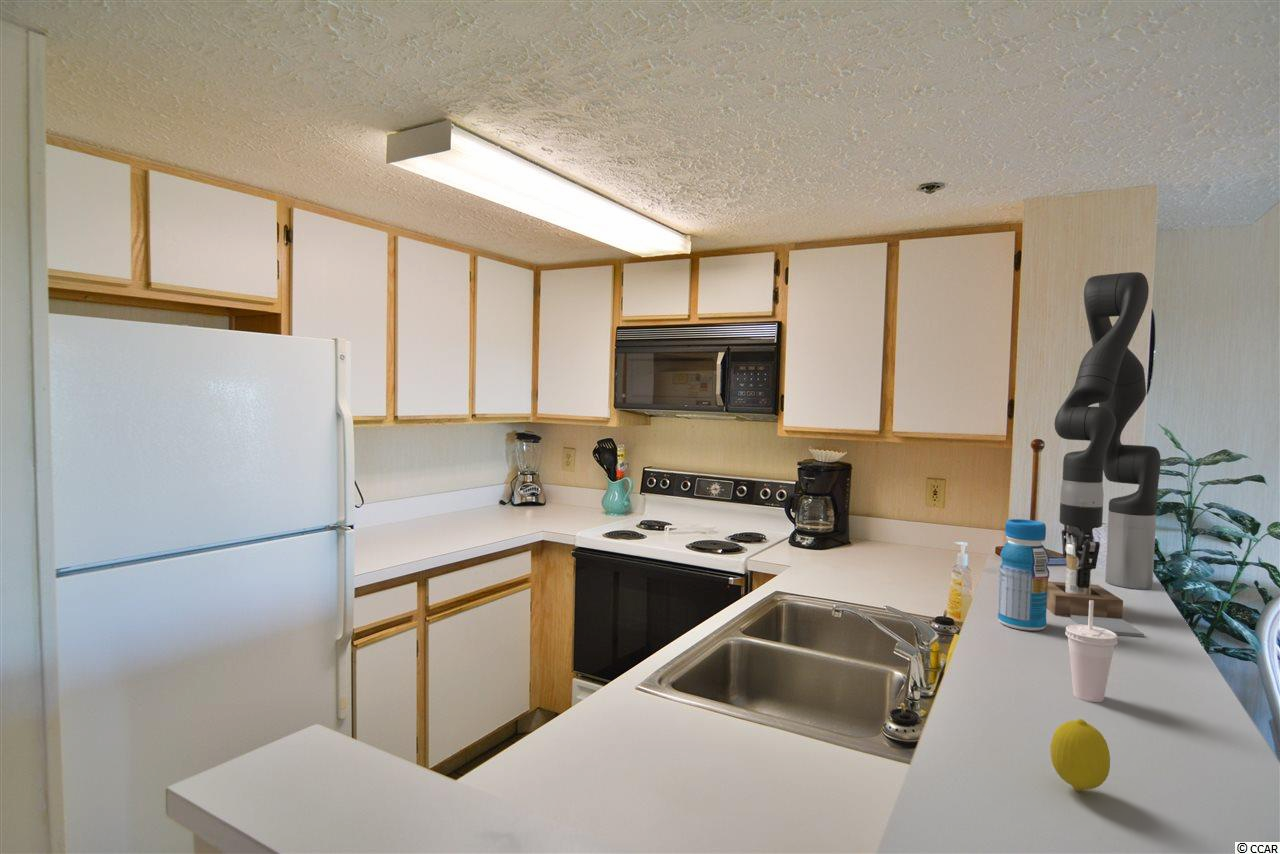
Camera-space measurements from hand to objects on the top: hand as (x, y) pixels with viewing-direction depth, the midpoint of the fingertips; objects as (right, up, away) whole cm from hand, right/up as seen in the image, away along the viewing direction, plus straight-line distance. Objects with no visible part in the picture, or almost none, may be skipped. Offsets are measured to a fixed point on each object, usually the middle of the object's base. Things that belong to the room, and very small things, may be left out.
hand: (1077, 583), depth 144 cm
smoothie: (-26, -7, -43) cm, 51 cm away
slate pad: (-2, -6, -11) cm, 13 cm away
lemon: (-43, -8, -68) cm, 81 cm away
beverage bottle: (-18, -6, -11) cm, 21 cm away
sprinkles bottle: (0, -5, 0) cm, 5 cm away
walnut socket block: (0, -5, 0) cm, 5 cm away
